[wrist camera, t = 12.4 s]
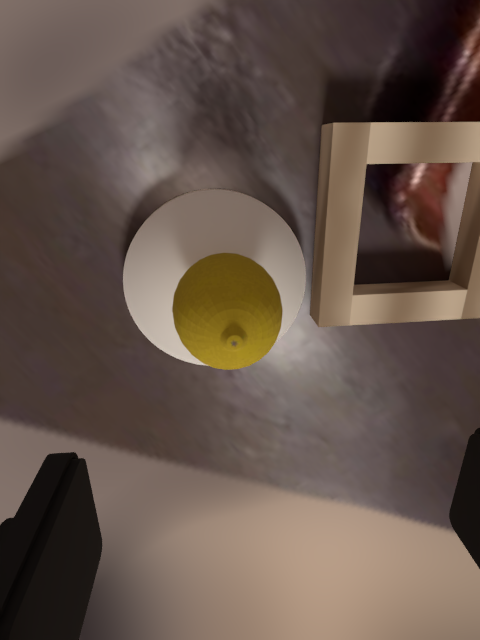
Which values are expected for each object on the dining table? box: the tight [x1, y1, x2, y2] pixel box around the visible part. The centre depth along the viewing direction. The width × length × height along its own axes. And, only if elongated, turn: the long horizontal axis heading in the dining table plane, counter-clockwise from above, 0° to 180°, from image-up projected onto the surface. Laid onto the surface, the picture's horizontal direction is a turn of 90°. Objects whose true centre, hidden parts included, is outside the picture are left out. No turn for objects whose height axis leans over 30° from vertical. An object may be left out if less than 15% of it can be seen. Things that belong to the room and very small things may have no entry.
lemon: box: [172, 253, 283, 370], centre depth 20 cm, size 6×6×8 cm
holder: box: [310, 122, 480, 327], centre depth 24 cm, size 12×12×2 cm
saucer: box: [123, 188, 306, 366], centre depth 24 cm, size 11×11×1 cm
